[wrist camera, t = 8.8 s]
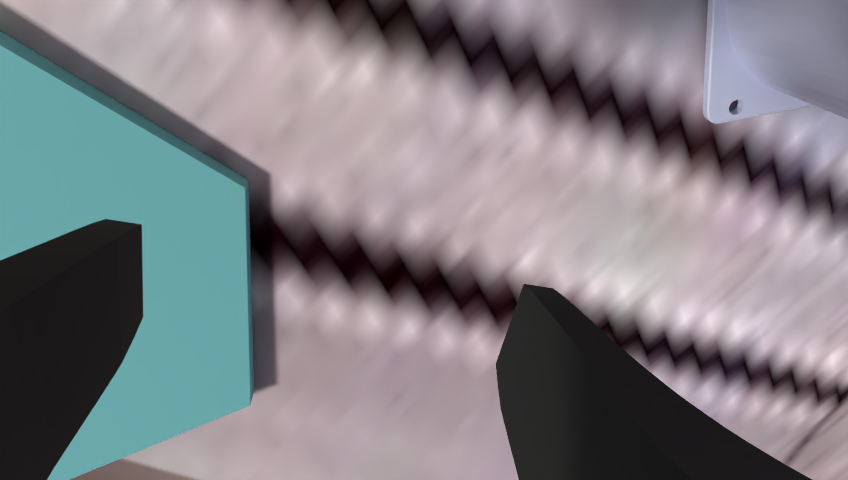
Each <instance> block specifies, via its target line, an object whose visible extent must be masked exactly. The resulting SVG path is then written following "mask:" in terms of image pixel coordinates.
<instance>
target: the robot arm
mask: <svg viewBox="0 0 848 480" xmlns="http://www.w3.org/2000/svg"><path fill="white" fill-rule="evenodd" d="M737 99H738V105H737V107H736V108H735V109H734V110H732V111H730V112H729V107H730V104H731V103H732V102H733V101H735V100H737ZM811 105H815V106H817V107H820V108H822V109H825V110H827V111H830V112H832V113H835V114H837V115H840V116H842V117H845V118H847V119H848V0H708V14H707V34H706V54H705V73H704V93H703V115H704V117H705V118H706V119H707V120H709V121H711V122H713V123H715V124H720V123H725V122H731V121H736V120H741V119H746V118H751V117H756V116H761V115H766V114H771V113H776V112H781V111H786V110H791V109H796V108H801V107H806V106H811ZM142 319H143V267H142V224H136V223H129V222H123V221H116V220H110V219H104V220H101V221H97V222H94V223H91V224H89V225H86V226H84V227H81V228H78V229H76V230H73V231H71V232H68V233H66V234H64V235H61V236H59V237H56V238H54V239H51V240H49V241H47V242H44V243H42V244H39V245H37V246H34V247H32V248H29V249H27V250H25V251H22V252H20V253H17V254H15V255H12V256H10V257H7V258H5V259H2V260H0V480H47V479H48V477H49V475H50V474H51V472H52V470H53V469H54V467H55V466H56V464H57V463H58V461H59V460H60V458H61V457H62V455H63V454H64V452H65V450H66V449H67V447H68V446H69V444H70V443H71V441H72V440H73V438H74V437H75V435H76V434H77V432H78V431H79V429H80V428H81V426H82V425H83V423H84V421H85V420H86V418H87V417H88V415H89V414H90V412H91V411H92V409H93V408H94V406H95V405H96V403H97V402H98V400H99V399H100V397H101V395H102V394H103V392H104V391H105V389H106V388H107V386H108V385H109V383H110V381H111V380H112V378H113V377H114V375H115V374H116V372H117V370H118V369H119V367H120V366H121V364H122V362H123V360H124V358H125V356H126V354H127V352H128V350H129V348H130V346H131V343H132V341H133V339H134V337H135V335H136V332H137V330H138V328H139V326H140V323H141V321H142ZM496 369H497V380H498V390H499V397H500V405H501V411H502V415H503V419H504V423H505V427H506V431H507V435H508V439H509V443H510V447H511V451H512V455H513V458H514V462H515V466H516V470H517V474H518V478H519V480H812V479H810V478H808V477H806V476H805V475H803V474H801V473H799V472H797V471H796V470H794V469H792V468H790V467H788V466H787V465H785V464H783V463H781V462H780V461H778V460H777V459H775V458H773V457H772V456H770V455H768V454H767V453H765V452H763V451H762V450H760V449H758V448H757V447H755V446H753V445H752V444H750V443H748V442H747V441H745V440H743V439H742V438H740V437H739V436H737V435H736V434H734V433H733V432H731V431H729V430H728V429H726V428H725V427H723V426H722V425H720V424H719V423H718V422H716V421H715V420H713V419H712V418H710V417H709V416H708V415H706V414H705V413H703V412H702V411H700V410H699V409H698V408H696V407H695V406H693V405H692V404H690V403H689V402H688V401H686V400H685V399H684V398H682V397H681V396H680V395H678V394H677V393H676V392H674V391H673V390H672V389H670V388H669V387H668V386H667V385H665V384H664V383H663V382H662V381H660V380H659V379H658V378H657V377H655V376H654V375H653V374H652V373H650V372H649V371H648V370H647V369H645V368H644V367H643V366H642V365H641V364H639V363H638V362H637V361H636V360H635V359H634V358H632V357H631V356H630V355H629V354H628V353H627V352H625V351H624V350H623V349H622V348H621V347H620V346H619V345H617V344H616V343H615V342H614V341H613V340H612V339H611V338H610V337H608V336H607V335H606V334H605V333H604V332H603V331H602V330H601V329H600V328H599V327H597V326H596V325H595V324H594V323H593V322H592V321H591V320H590V319H589V318H588V317H586V316H585V315H584V314H583V313H582V312H581V311H580V310H579V309H578V308H576V307H575V306H574V305H573V304H572V303H571V302H570V301H568V300H567V299H566V298H565V297H564V296H562V295H561V294H560V293H558V292H557V291H556V290H554V289H553V288H546V287H540V286H534V285H527V284H524V285H523V288H522V291H521V294H520V297H519V299H518V302H517V305H516V308H515V311H514V314H513V316H512V319H511V322H510V325H509V328H508V331H507V334H506V336H505V339H504V342H503V345H502V348H501V351H500V354H499V356H498V359H497V362H496Z"/></svg>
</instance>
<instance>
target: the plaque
mask: <svg viewBox="0 0 848 480" xmlns="http://www.w3.org/2000/svg"><path fill="white" fill-rule="evenodd" d="M104 219H110V220H116V221H123V222H129V223H136V224H142V267H143V319H142V321H141V323H140V326H139V328H138V330H137V332H136V335H135V337H134V339H133V341H132V343H131V346H130V348H129V350H128V352H127V354H126V356H125V358H124V360H123V362H122V364H121V366H120V367H119V369H118V370H117V372H116V374H115V375H114V377H113V378H112V380H111V381H110V383H109V385H108V386H107V388H106V389H105V391H104V392H103V394H102V395H101V397H100V399H99V400H98V402H97V403H96V405H95V406H94V408H93V409H92V411H91V412H90V414H89V415H88V417H87V418H86V420H85V421H84V423H83V425H82V426H81V428H80V429H79V431H78V432H77V434H76V435H75V437H74V438H73V440H72V441H71V443H70V444H69V446H68V447H67V449H66V450H65V452H64V454H63V455H62V457H61V458H60V460H59V461H58V463H57V464H56V466H55V467H54V469H53V470H52V472H51V474H50V475H49V477H48V479H47V480H69V479H72V478H74V477H77V476H79V475H81V474H84V473H86V472H89V471H91V470H94V469H96V468H99V467H101V466H103V465H106V464H108V463H111V462H113V461H116V460H118V459H120V458H123V457H125V456H128V455H130V454H133V453H135V452H138V451H140V450H142V449H145V448H147V447H150V446H152V445H155V444H157V443H159V442H162V441H164V440H167V439H169V438H172V437H174V436H176V435H179V434H181V433H184V432H186V431H189V430H191V429H193V428H196V427H198V426H201V425H203V424H206V423H208V422H211V421H213V420H215V419H218V418H220V417H223V416H225V415H228V414H230V413H232V412H235V411H237V410H240V409H242V408H245V407H247V406H249V405H250V404H251V400H252V396H253V392H254V368H253V329H252V291H251V252H250V213H249V180H247V179H246V178H244V177H242V176H241V175H239V174H237V173H236V172H234V171H232V170H231V169H229V168H227V167H226V166H224V165H222V164H221V163H219V162H217V161H216V160H214V159H212V158H211V157H209V156H207V155H206V154H204V153H202V152H201V151H199V150H197V149H196V148H194V147H192V146H191V145H189V144H187V143H186V142H184V141H182V140H181V139H179V138H177V137H176V136H174V135H172V134H171V133H169V132H167V131H166V130H164V129H162V128H161V127H159V126H157V125H156V124H154V123H152V122H151V121H149V120H147V119H146V118H144V117H142V116H141V115H139V114H137V113H136V112H134V111H132V110H131V109H129V108H127V107H126V106H124V105H122V104H121V103H119V102H117V101H116V100H114V99H112V98H111V97H109V96H107V95H106V94H104V93H102V92H101V91H99V90H97V89H96V88H94V87H92V86H91V85H89V84H87V83H86V82H84V81H82V80H81V79H79V78H77V77H76V76H74V75H72V74H71V73H69V72H67V71H66V70H64V69H62V68H61V67H59V66H57V65H56V64H54V63H52V62H51V61H49V60H48V59H46V58H44V57H43V56H41V55H39V54H38V53H36V52H34V51H33V50H31V49H29V48H28V47H26V46H24V45H23V44H21V43H19V42H18V41H16V40H14V39H13V38H11V37H9V36H8V35H6V34H4V33H3V32H1V31H0V260H2V259H5V258H7V257H10V256H12V255H15V254H17V253H20V252H22V251H25V250H27V249H29V248H32V247H34V246H37V245H39V244H42V243H44V242H47V241H49V240H51V239H54V238H56V237H59V236H61V235H64V234H66V233H68V232H71V231H73V230H76V229H78V228H81V227H84V226H86V225H89V224H91V223H94V222H97V221H101V220H104Z"/></svg>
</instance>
